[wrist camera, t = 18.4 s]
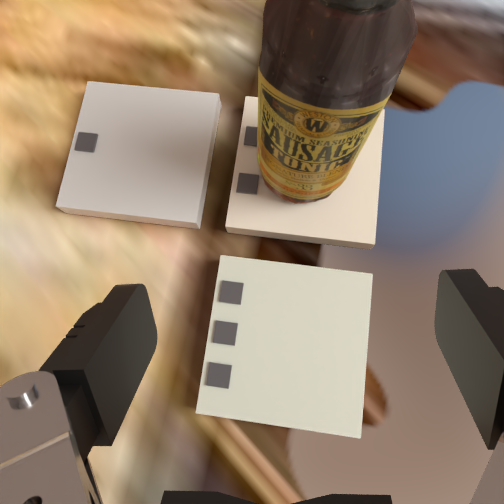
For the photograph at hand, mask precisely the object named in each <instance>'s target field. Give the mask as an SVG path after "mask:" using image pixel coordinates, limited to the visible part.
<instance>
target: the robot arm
mask: <svg viewBox="0 0 504 504" xmlns="http://www.w3.org/2000/svg"><path fill="white" fill-rule="evenodd" d="M435 334H436V339H437V342H438V345H439V347H440V349H441V351H442V353H443V355H444V357H445V359H446V362H447V364H448V366H449V368H450V370H451V372H452V374H453V376H454V379H455V381H456V383H457V385H458V387H459V389H460V391H461V393H462V395H463V397H464V400H465V402H466V404H467V406H468V408H469V410H470V412H471V415H472V416H473V419H474V421H475V423H476V425H477V427H478V429H479V432H480V434H481V436H482V438H483V440H484V442H485V444H486V446H487V448H488V450H494V452H493V454H492V456H491V458H490V460H489V462H488V465H487V467H486V469H485V471H484V473H483V476H482V478H481V480H480V482H479V485H478V487H477V489H476V491H475V494H474V496H473V498H472V500H471V502H470V504H504V290H502V289H501V288H499V287H488V285H487V284H486V283H485V282H484V280H483V279H482V278H481V277H480V275H479V274H478V273H477V272H476V270H474V269H461V270H460V269H458V270H442V271H441V273H440V275H439V282H438V291H437V302H436V311H435ZM156 345H157V329H156V324H155V320H154V317H153V313H152V309H151V305H150V301H149V297H148V293H147V290H146V287H145V286H144V285H143V284H125V285H116V286H114V287H113V289H112V290H111V291H110V293H109V294H108V295H107V297H106V298H105V299H104V301H103V302H102V303H97V304H96V305H94V306H93V307H92V308H90V309H89V310H87V311H86V312H85V313H83V314H82V316H81V317H80V318H79V319H78V321H77V322H76V323H75V325H74V328H71V330H70V331H69V332H68V334H67V335H66V338H64V339H63V340H62V341H61V342H60V344H59V345H58V346H57V348H56V349H55V350H54V351H53V353H52V354H51V355H50V357H49V358H48V359H47V360H46V362H45V363H44V364H43V365H42V367H41V368H40V369H39V371H35V372H30V373H26V374H23V375H20V376H18V377H16V378H14V379H12V380H10V381H8V382H7V383H5V384H4V385H2V386H1V387H0V504H103V502H102V499H101V496H100V492H99V489H98V486H97V483H96V480H95V476H94V473H93V470H92V467H91V464H90V461H89V459H88V454H89V452H90V450H91V448H92V446H112V444H113V442H114V439H115V437H116V435H117V433H118V431H119V429H120V426H121V424H122V422H123V420H124V418H125V415H126V413H127V411H128V409H129V407H130V404H131V402H132V400H133V398H134V396H135V393H136V391H137V389H138V387H139V385H140V382H141V380H142V378H143V376H144V374H145V372H146V369H147V367H148V365H149V363H150V361H151V358H152V356H153V354H154V352H155V349H156ZM161 504H257V503H254V502H250V501H247V500H243V499H240V498H237V497H233V496H230V495H226V494H223V493H220V492H205V491H164V494H163V497H162V500H161ZM292 504H392V500H391V496H390V495H357V494H330V495H326V496H321V497H317V498H313V499H309V500H305V501H300V502H296V503H292Z"/></svg>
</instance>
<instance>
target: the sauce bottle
mask: <svg viewBox="0 0 504 504" xmlns="http://www.w3.org/2000/svg"><path fill="white" fill-rule="evenodd" d="M416 34H417V23H416V20H415V14H414V10H413V5H412V1H411V0H267V1H266V3H265V8H264V13H263V38H262V51H261V55H260V59H259V77H258V126H257V161H258V165H259V168H260V172H261V175H262V177H263V180H264V182H265V185H266V186H267V187H268V188H269V189H270V190H271V191H272V192H273V193H275V194H276V195H278V196H279V197H281V198H283V199H284V200H286V201H291V202H293V203H295V204H297V203H300V204H301V203H310V202H316V201H318V200H322V199H325V198H327V197H329V196H330V195H331V193H333V191H335V190H336V189H337V188H339V187H340V186H341V185H342V184H343V182H344V181H345V180H346V178H347V176H348V174H349V172H350V171H351V169H352V167H353V164H354V163H355V161H356V159H357V157H358V155H359V153H360V151H361V150H362V148H363V146H364V144H365V142H366V141H367V139H368V137H369V135H370V133H371V131H372V129H373V127H374V125H375V123H376V121H377V119H378V117H379V115H380V113H381V111H382V109H383V108H384V106H385V104H386V102H387V100H388V98H389V97H390V95H391V93H392V90H393V88H394V86H395V83H396V81H397V79H398V76H399V74H400V72H401V69H402V67H403V65H404V62H405V60H406V58H407V55H408V53H409V51H410V48H411V46H412V44H413V41H414V39H415V37H416Z"/></svg>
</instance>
